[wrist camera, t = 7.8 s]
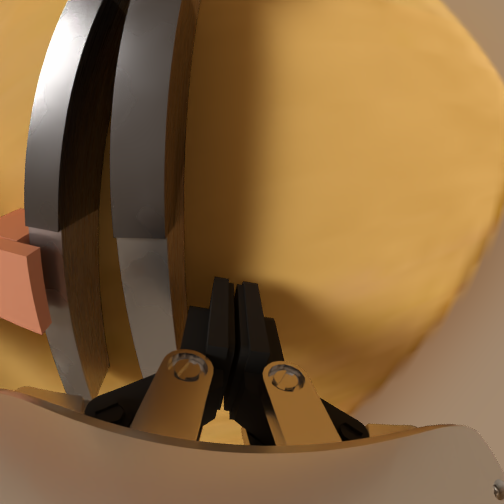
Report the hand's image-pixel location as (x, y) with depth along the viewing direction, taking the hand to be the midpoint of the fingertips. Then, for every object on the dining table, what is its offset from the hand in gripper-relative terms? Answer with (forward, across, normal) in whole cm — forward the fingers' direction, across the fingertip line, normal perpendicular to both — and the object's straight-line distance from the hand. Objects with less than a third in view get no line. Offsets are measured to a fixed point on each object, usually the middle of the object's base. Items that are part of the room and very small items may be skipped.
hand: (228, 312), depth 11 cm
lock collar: (+1, +10, -1) cm, 10 cm away
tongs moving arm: (+1, +3, -5) cm, 6 cm away
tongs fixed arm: (+1, +6, -6) cm, 9 cm away
